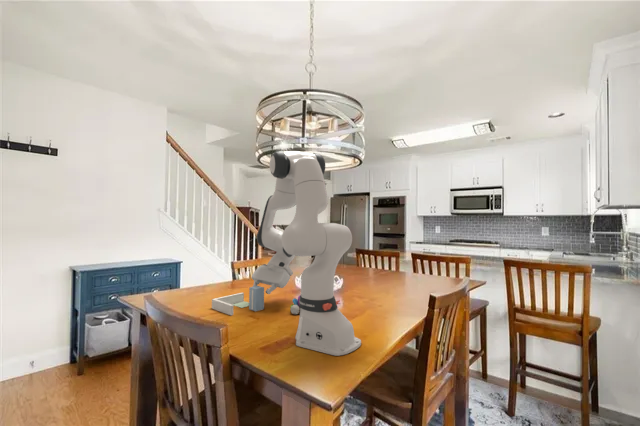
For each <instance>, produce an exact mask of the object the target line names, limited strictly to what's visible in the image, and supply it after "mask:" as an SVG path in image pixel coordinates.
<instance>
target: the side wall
mask: <svg viewBox="0 0 640 426" xmlns="http://www.w3.org/2000/svg"><path fill="white" fill-rule="evenodd" d="M213 299H214V300H213V310H214V311H218V312H220V313H223V314H225V315H229V316H234V307H235V306H234V305H232V304H229V303H226V302H223V301H220V300H217V299H215V298H213Z"/></svg>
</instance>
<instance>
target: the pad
mask: <svg viewBox="0 0 640 426" xmlns="http://www.w3.org/2000/svg"><path fill="white" fill-rule="evenodd" d="M232 305H234V307H237V308H240V309H243V308H246V307H249V301H245V300H244V301H243V302H239V303H235V304H232Z"/></svg>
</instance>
